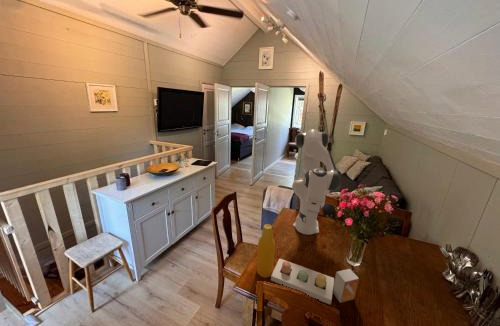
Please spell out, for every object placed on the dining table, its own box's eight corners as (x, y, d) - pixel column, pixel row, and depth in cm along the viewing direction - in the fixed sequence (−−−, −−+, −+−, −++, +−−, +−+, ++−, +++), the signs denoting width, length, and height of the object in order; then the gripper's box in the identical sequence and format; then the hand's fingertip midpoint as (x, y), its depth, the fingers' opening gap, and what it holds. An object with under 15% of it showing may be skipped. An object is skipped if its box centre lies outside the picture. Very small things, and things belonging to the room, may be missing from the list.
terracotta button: (283, 266, 116) (283, 260, 115) (291, 269, 114) (291, 263, 113) (280, 272, 112) (281, 266, 111) (288, 275, 110) (289, 269, 109)
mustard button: (316, 279, 109) (317, 272, 108) (325, 282, 107) (326, 275, 106) (314, 286, 105) (316, 279, 104) (324, 289, 103) (325, 282, 102)
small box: (340, 303, 99) (345, 282, 95) (331, 291, 105) (335, 271, 101) (354, 299, 101) (359, 278, 97) (345, 288, 107) (349, 268, 103)
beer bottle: (263, 281, 110) (266, 234, 101) (253, 269, 117) (255, 224, 108) (276, 273, 115) (280, 228, 106) (265, 262, 122) (268, 219, 113)
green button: (298, 275, 113) (299, 269, 112) (307, 279, 111) (308, 272, 110) (296, 282, 109) (297, 275, 108) (305, 285, 107) (306, 278, 106)
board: (279, 262, 123) (279, 258, 122) (333, 282, 110) (334, 278, 109) (270, 280, 110) (271, 275, 110) (330, 304, 98) (331, 300, 97)
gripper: (312, 191, 116) (309, 213, 120) (305, 207, 99) (301, 232, 103) (324, 194, 114) (321, 216, 118) (318, 211, 96) (315, 236, 100)
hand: (312, 224), depth 110 cm, fingers closed
